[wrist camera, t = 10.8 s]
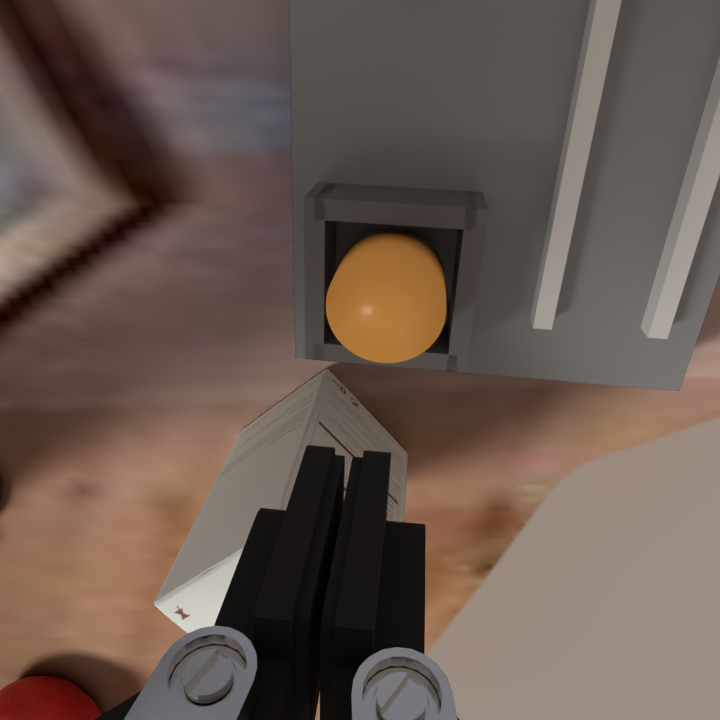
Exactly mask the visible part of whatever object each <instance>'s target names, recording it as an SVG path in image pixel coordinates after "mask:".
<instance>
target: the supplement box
mask: <svg viewBox="0 0 720 720" xmlns="http://www.w3.org/2000/svg"><path fill="white" fill-rule="evenodd" d="M307 445H314V446H325V447H334V448H335V455H342V456H345V474H344V498H345V493H346V488H347V483H348V478H349V472H350V467H351V462H352V458H353V457H363V453H364V450H368V451H379V452H390V453H391V465H390V479H389V492H388V506H387V520H386V521H396V522H404V512H405V499H406V483H407V465H408V454H407V452H406V451H405V450H404V449H403V448H402V447H401V446H400V444H399V443H398V442H397V441H396V440H395V439H394V438H393V437H392V436H391V435H390V434H389V433H388V432H387V430H386V429H385V428H384V427H383V426H382V425H381V424H380V423H379V422H378V421H377V420H376V419H375V418H374V416H373V415H372V414H371V413H370V412H369V411H368V410H367V409H366V408H365V407H364V406H363V405H362V404H361V403H360V402H359V400H358V399H357V398H356V397H355V396H354V395H353V394H352V393H351V392H350V391H349V390H348V389H347V388H346V387H345V386H344V385H343V384H342V383H341V382H340V380H339V379H338V378H337V377H336V376H335V375H334V374H333V373H332V372H331V371H330V370H329V369H325V370H324V371H323V372H321V373H320V374H318V375H317V376H315V377H314V378H312V379H311V380H310V381H308V382H307V383H305V384H304V385H303V386H301V387H300V388H298V389H297V390H296V391H294V392H293V393H292V394H290V395H289V396H288V397H286V398H285V399H283V400H282V401H281V402H279V403H278V404H277V405H275V406H274V407H272V408H271V409H270V410H268V411H267V412H266V413H264V414H263V415H262V416H260V417H259V418H257V419H256V420H255V421H253V422H252V423H251V424H249V425H248V426H247V427H245V428H244V429H242V430H241V431H240V434H239V436H238V438H237V440H236V442H235V444H234V446H233V447H232V449H231V451H230V453H229V455H228V457H227V459H226V461H225V463H224V465H223V467H222V469H221V471H220V473H219V475H218V477H217V479H216V481H215V483H214V485H213V487H212V489H211V491H210V493H209V495H208V497H207V499H206V501H205V502H204V504H203V506H202V508H201V510H200V512H199V514H198V516H197V518H196V520H195V522H194V524H193V526H192V528H191V530H190V532H189V534H188V536H187V538H186V540H185V542H184V544H183V546H182V548H181V550H180V552H179V554H178V556H177V558H176V559H175V561H174V563H173V565H172V567H171V569H170V571H169V573H168V575H167V577H166V579H165V581H164V583H163V585H162V587H161V589H160V591H159V593H158V595H157V597H156V599H155V601H154V605H155V606H156V607H157V608H158V609H160V610H161V611H162V612H163V613H164V614H165V615H166V616H167V617H169V618H170V619H171V620H172V621H173V622H175V623H176V624H177V625H178V626H180V627H181V628H182V629H183V630H184V631H186V632H187V633H190V632H192V631H195V630H197V629H199V628H204V627H210V626H214V624H215V622H216V619H217V616H218V614H219V611H220V609H221V606H222V603H223V601H224V598H225V595H226V593H227V590H228V588H229V585H230V582H231V580H232V577H233V574H234V572H235V569H236V567H237V564H238V561H239V559H240V556H241V553H242V551H243V548H244V546H245V543H246V540H247V538H248V535H249V532H250V530H251V527H252V525H253V522H254V519H255V517H256V515H257V512H258V510H259V509H260V508H268V509H277V510H286V508H287V505H288V502H289V499H290V496H291V493H292V490H293V486H294V483H295V480H296V477H297V474H298V471H299V468H300V464H301V461H302V458H303V455H304V452H305V449H306V446H307Z"/></svg>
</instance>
